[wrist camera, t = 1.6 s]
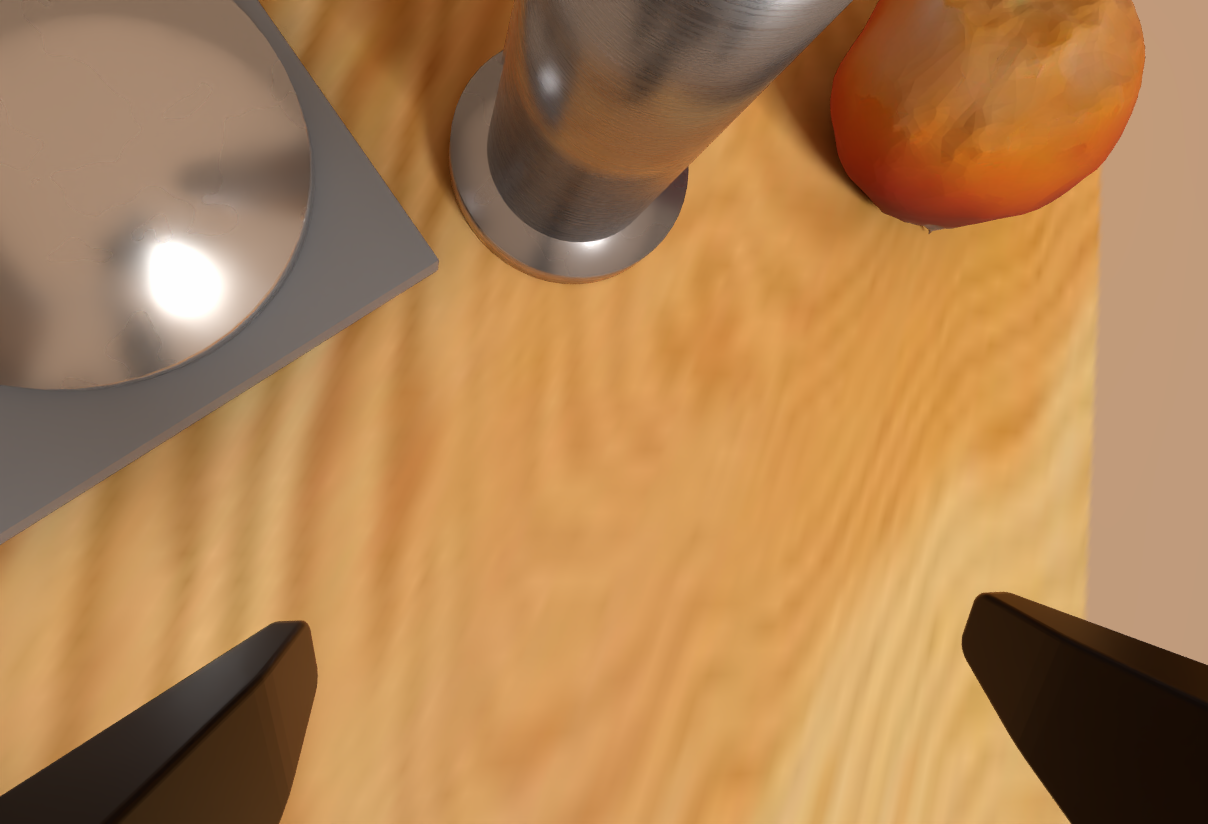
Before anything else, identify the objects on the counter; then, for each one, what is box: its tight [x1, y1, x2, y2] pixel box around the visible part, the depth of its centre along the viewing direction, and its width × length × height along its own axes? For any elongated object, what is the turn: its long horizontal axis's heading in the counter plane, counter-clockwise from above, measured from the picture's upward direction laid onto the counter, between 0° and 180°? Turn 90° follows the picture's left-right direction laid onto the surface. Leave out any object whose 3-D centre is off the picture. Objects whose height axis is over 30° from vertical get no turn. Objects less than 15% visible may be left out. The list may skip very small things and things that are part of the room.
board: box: [0, 0, 439, 545], centre depth 17 cm, size 16×12×1 cm
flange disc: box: [0, 0, 314, 391], centre depth 17 cm, size 11×11×1 cm
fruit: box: [830, 0, 1145, 234], centre depth 22 cm, size 8×8×8 cm
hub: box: [449, 0, 853, 284], centre depth 15 cm, size 7×7×13 cm
